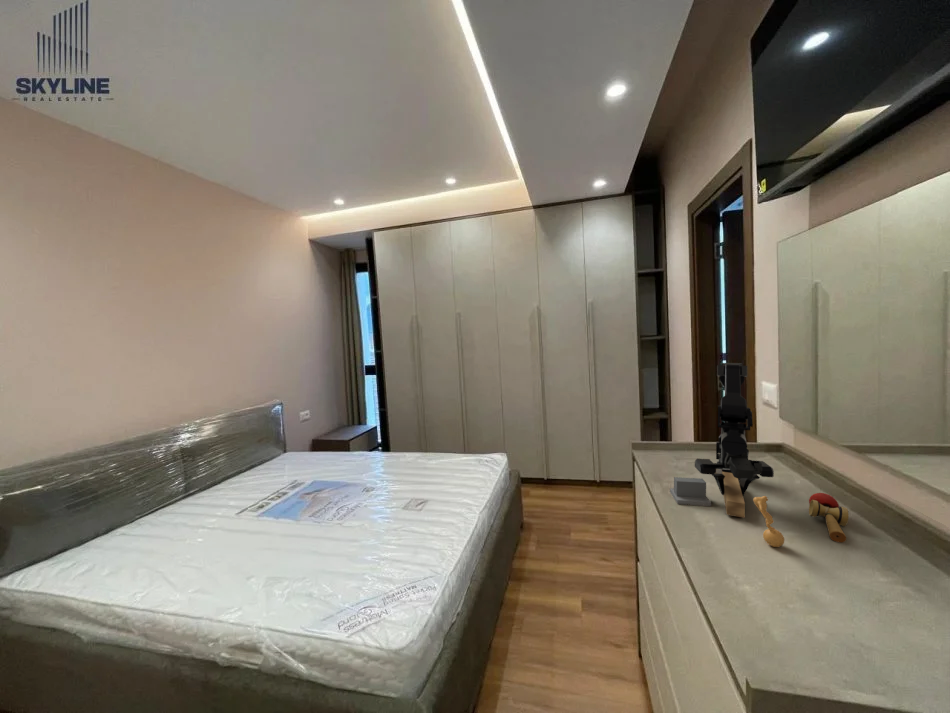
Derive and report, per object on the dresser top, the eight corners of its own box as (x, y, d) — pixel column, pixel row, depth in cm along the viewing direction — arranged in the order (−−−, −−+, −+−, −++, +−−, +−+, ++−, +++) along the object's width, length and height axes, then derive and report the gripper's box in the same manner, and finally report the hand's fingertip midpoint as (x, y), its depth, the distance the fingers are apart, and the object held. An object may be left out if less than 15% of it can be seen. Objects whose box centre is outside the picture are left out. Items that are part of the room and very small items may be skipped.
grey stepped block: (701, 493, 115) (701, 475, 114) (711, 506, 107) (711, 486, 107) (669, 491, 117) (669, 473, 117) (677, 503, 109) (677, 484, 109)
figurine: (787, 557, 83) (788, 507, 82) (754, 549, 87) (755, 501, 86) (781, 538, 90) (782, 492, 89) (750, 532, 94) (751, 487, 93)
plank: (736, 485, 118) (736, 473, 118) (744, 517, 99) (744, 503, 99) (721, 483, 120) (721, 471, 120) (726, 514, 101) (726, 500, 101)
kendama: (864, 553, 86) (842, 509, 101) (859, 528, 85) (838, 488, 100) (820, 548, 90) (805, 507, 105) (815, 525, 90) (801, 487, 104)
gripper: (708, 452, 102) (707, 505, 104) (785, 455, 98) (784, 511, 99) (694, 440, 113) (693, 488, 114) (763, 442, 109) (762, 492, 110)
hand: (732, 495), depth 109 cm, fingers closed on plank, 5 cm apart
